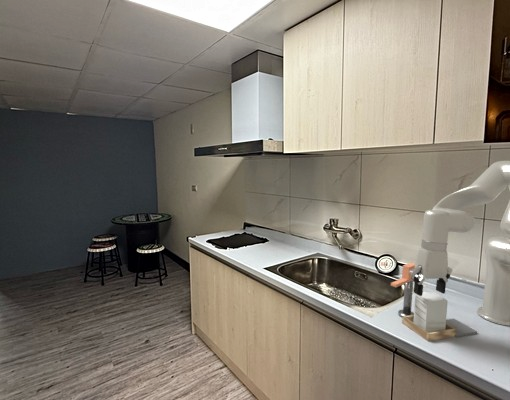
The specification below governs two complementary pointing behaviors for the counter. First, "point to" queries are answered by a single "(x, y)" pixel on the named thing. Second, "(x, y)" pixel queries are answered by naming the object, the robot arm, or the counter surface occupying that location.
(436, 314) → the white drawer cabinet
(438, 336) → the frame
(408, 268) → the lever
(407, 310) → the post
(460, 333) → the coaster
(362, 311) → the counter surface
